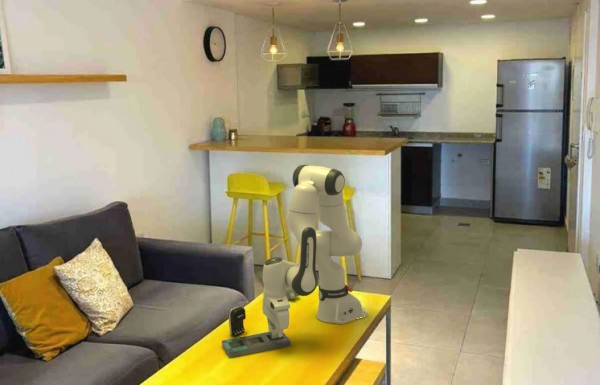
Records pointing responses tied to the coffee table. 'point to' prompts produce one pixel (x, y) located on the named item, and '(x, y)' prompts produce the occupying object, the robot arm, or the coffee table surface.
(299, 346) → the coffee table surface
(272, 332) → the steel block
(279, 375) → the coffee table surface
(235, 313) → the battery charger
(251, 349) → the grey slotted board
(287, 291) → the toy rhinoceros
